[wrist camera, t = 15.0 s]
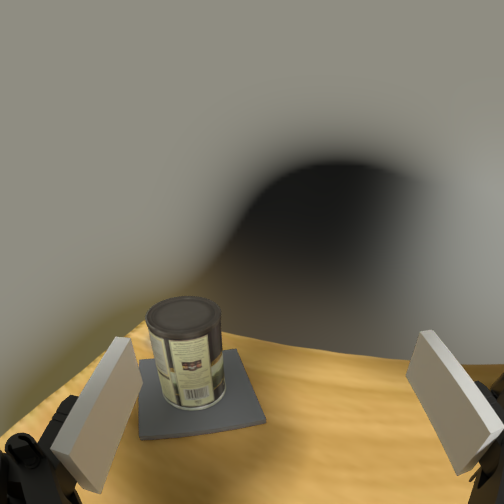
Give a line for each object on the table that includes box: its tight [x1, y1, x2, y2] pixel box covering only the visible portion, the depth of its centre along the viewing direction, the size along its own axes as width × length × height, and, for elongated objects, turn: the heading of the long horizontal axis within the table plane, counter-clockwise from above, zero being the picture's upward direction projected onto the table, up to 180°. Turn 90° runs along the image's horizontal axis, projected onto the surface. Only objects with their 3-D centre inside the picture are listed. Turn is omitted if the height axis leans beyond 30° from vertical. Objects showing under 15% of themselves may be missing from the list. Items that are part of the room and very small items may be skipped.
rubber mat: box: [139, 349, 266, 440], centre depth 45 cm, size 18×18×1 cm
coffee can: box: [145, 296, 226, 411], centre depth 42 cm, size 10×10×14 cm
